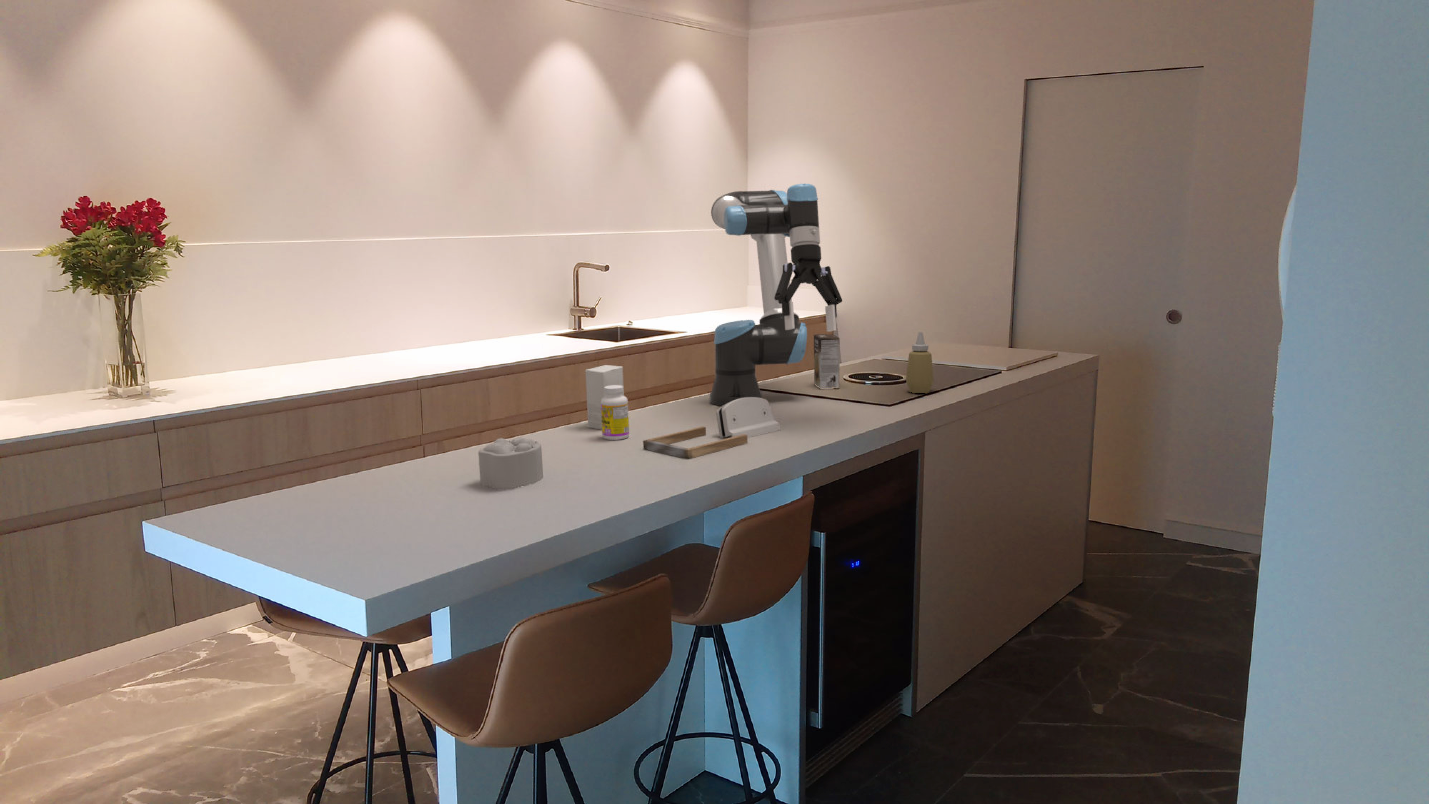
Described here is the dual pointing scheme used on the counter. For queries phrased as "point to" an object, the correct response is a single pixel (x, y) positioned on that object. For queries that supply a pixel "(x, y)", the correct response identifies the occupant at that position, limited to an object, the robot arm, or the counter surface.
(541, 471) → the lumpy-topped squat cylinder
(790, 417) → the counter surface
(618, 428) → the supplement bottle
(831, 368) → the coffee box
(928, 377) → the squeeze bottle
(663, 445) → the frame
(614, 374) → the skincare box
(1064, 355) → the counter surface
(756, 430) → the grey piece
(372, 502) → the counter surface
